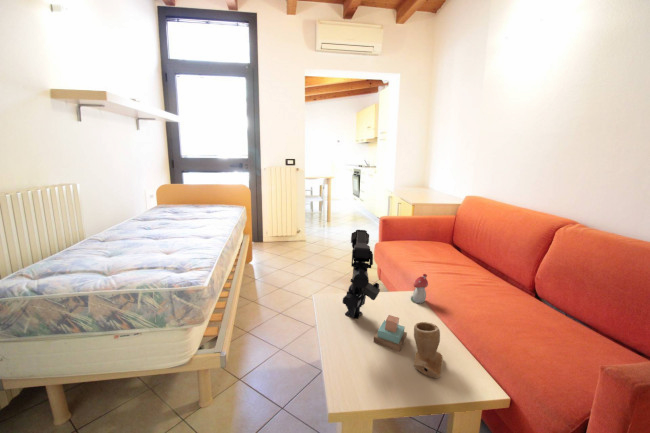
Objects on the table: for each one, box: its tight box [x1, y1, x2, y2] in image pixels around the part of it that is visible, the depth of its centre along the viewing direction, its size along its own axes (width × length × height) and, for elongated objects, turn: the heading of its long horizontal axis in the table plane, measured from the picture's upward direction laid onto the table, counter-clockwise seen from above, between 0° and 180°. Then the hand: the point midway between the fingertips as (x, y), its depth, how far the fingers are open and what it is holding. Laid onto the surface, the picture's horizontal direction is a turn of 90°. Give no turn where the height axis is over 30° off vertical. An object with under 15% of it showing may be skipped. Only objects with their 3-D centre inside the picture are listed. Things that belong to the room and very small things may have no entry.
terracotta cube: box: [385, 314, 400, 333], centre depth 127 cm, size 4×4×4 cm
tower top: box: [377, 319, 406, 344], centre depth 128 cm, size 9×9×3 cm
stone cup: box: [413, 321, 443, 379], centre depth 114 cm, size 15×12×15 cm
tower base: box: [373, 331, 408, 352], centre depth 129 cm, size 11×11×3 cm
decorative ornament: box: [410, 273, 429, 304], centre depth 163 cm, size 9×6×15 cm
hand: (356, 311), depth 126 cm, fingers open, 9 cm apart
